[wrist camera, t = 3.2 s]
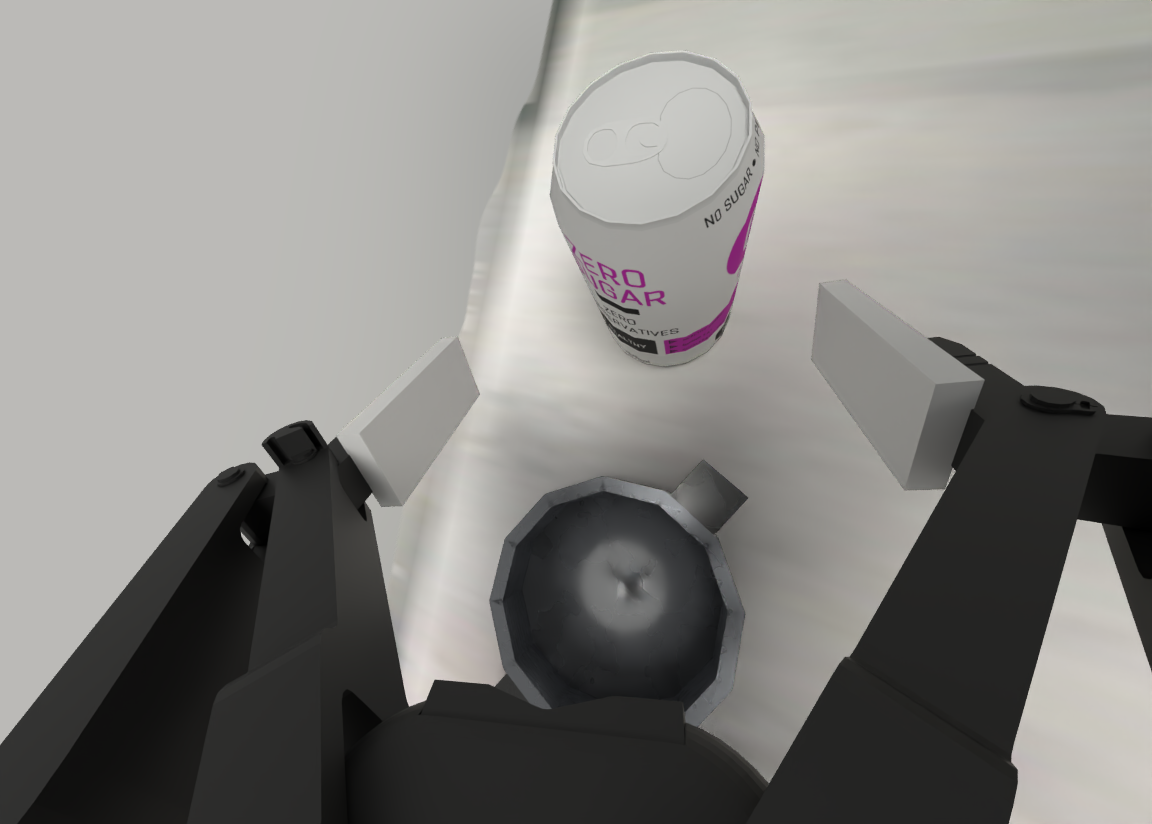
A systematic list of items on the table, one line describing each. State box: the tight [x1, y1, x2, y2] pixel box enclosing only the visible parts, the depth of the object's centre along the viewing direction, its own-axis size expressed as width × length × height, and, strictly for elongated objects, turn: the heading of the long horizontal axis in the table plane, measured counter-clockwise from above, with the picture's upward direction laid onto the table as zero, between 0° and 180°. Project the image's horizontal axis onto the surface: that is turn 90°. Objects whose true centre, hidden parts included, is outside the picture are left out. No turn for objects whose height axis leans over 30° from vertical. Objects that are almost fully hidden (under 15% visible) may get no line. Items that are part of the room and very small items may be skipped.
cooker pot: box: [489, 460, 748, 727], centre depth 24 cm, size 19×14×4 cm
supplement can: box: [550, 50, 764, 366], centre depth 21 cm, size 8×8×15 cm
